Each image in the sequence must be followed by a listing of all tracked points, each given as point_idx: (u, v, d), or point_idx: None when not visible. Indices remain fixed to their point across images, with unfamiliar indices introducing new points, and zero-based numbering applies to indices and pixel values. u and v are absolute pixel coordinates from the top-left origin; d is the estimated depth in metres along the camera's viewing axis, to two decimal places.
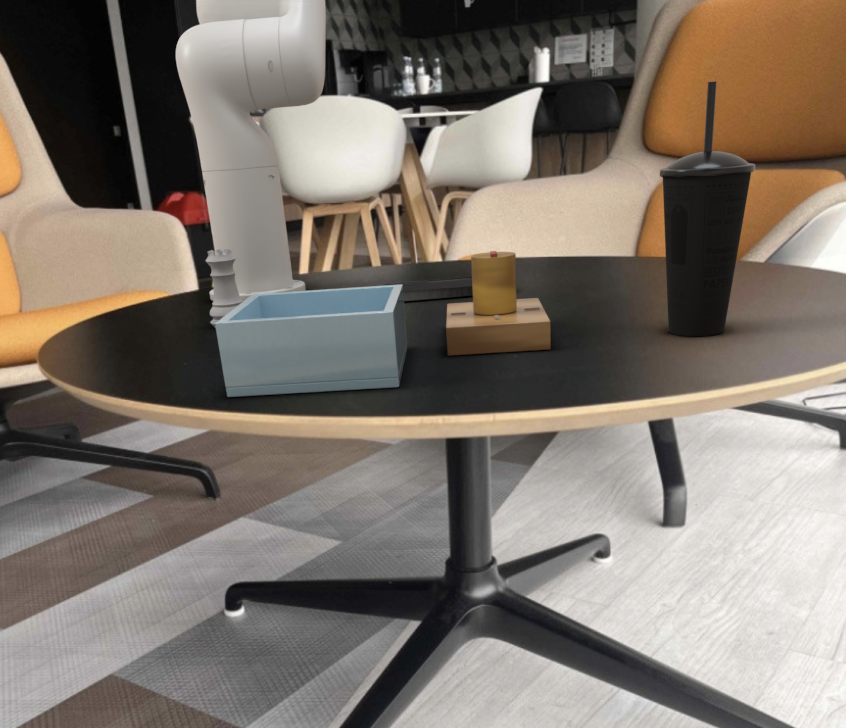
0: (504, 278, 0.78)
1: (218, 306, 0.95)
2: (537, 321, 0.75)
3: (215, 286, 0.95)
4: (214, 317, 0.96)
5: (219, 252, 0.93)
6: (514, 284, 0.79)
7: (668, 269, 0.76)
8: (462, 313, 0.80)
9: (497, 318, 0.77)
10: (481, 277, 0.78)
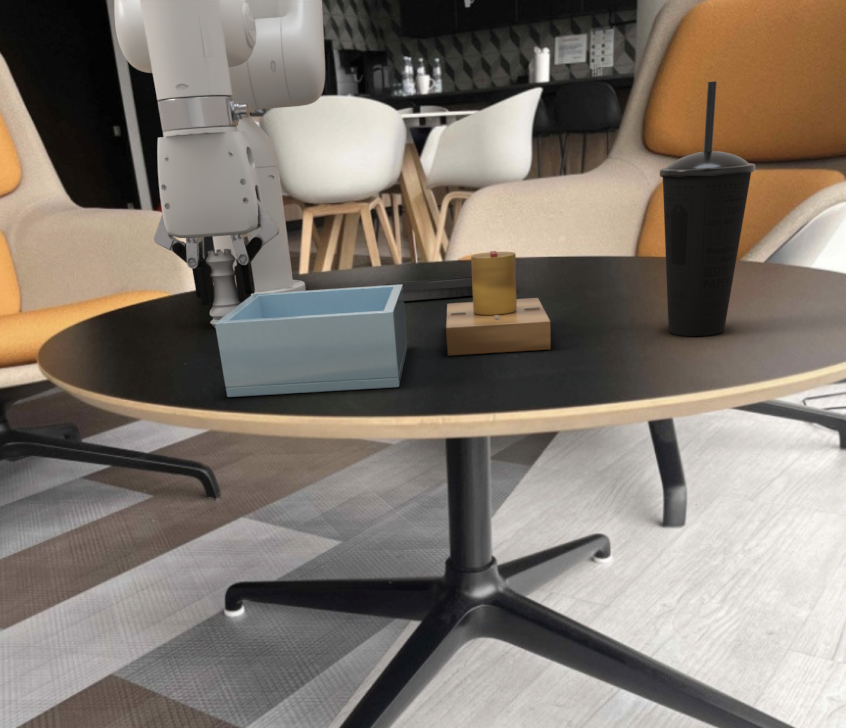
0: (504, 278, 0.78)
1: (218, 306, 0.95)
2: (537, 321, 0.75)
3: (215, 286, 0.95)
4: (214, 317, 0.96)
5: (219, 252, 0.93)
6: (514, 284, 0.79)
7: (668, 269, 0.76)
8: (462, 313, 0.80)
9: (497, 318, 0.77)
10: (481, 277, 0.78)
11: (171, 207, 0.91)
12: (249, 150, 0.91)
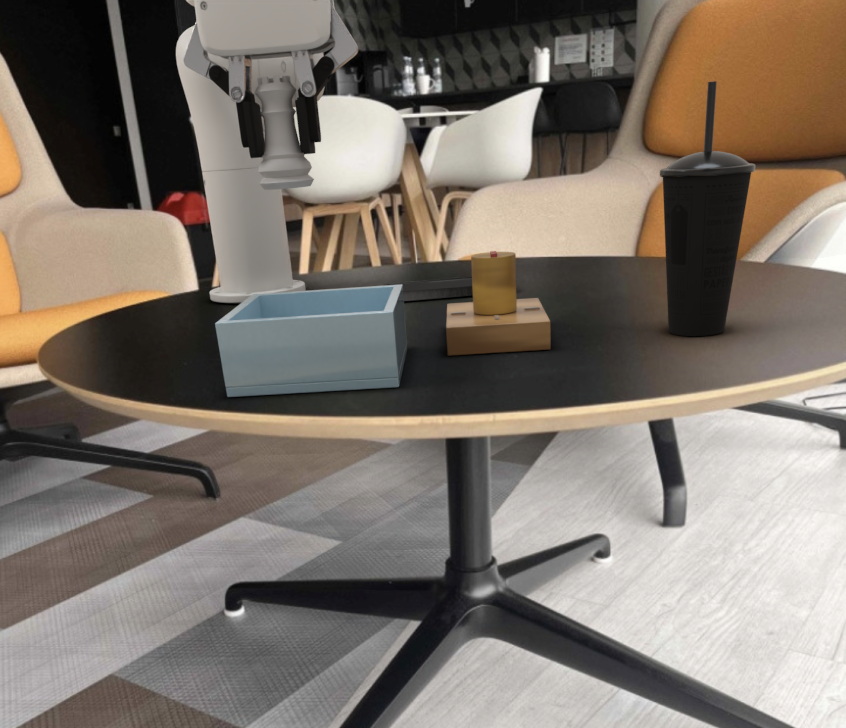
0: (504, 278, 0.78)
1: (272, 157, 0.69)
2: (537, 321, 0.75)
3: (267, 129, 0.69)
4: (265, 174, 0.70)
5: (274, 77, 0.67)
6: (514, 284, 0.79)
7: (668, 269, 0.76)
8: (462, 313, 0.80)
9: (497, 318, 0.77)
10: (481, 277, 0.78)
11: (209, 7, 0.64)
12: None
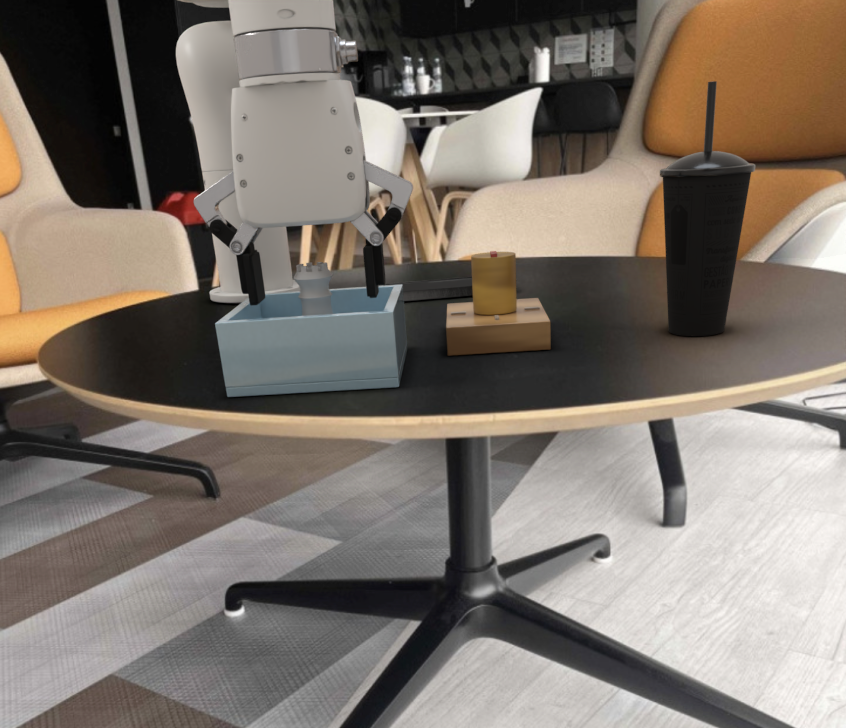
0: (504, 278, 0.78)
1: None
2: (537, 321, 0.75)
3: (305, 312, 0.71)
4: None
5: (313, 267, 0.70)
6: (514, 284, 0.79)
7: (668, 269, 0.76)
8: (462, 313, 0.80)
9: (497, 318, 0.77)
10: (481, 277, 0.78)
11: (249, 185, 0.66)
12: (355, 107, 0.67)
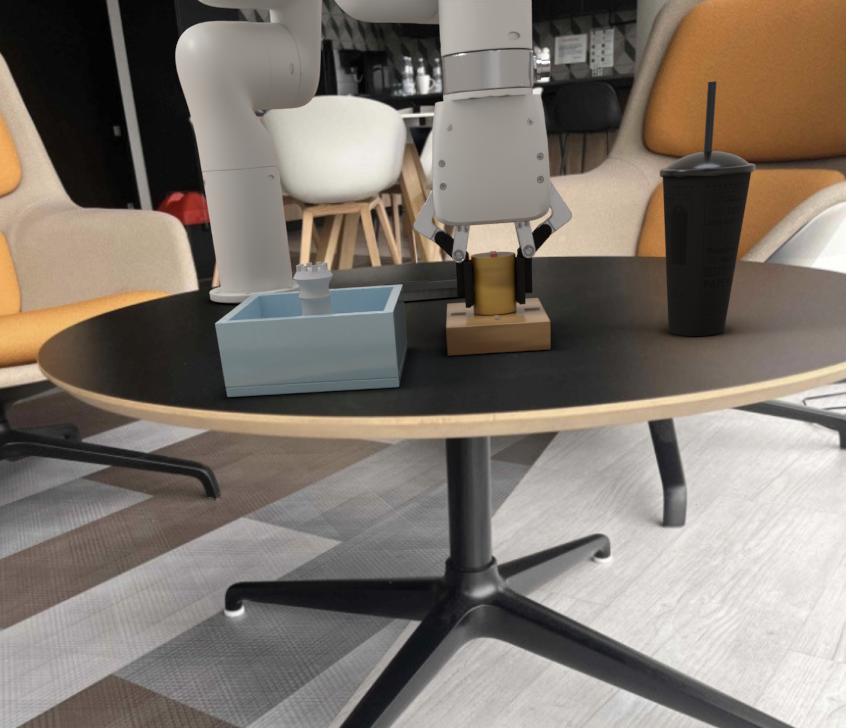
0: (504, 278, 0.78)
1: None
2: (537, 321, 0.75)
3: (305, 312, 0.71)
4: None
5: (313, 267, 0.70)
6: (514, 284, 0.79)
7: (668, 269, 0.76)
8: (462, 313, 0.80)
9: (497, 318, 0.77)
10: (481, 277, 0.78)
11: (448, 188, 0.74)
12: None
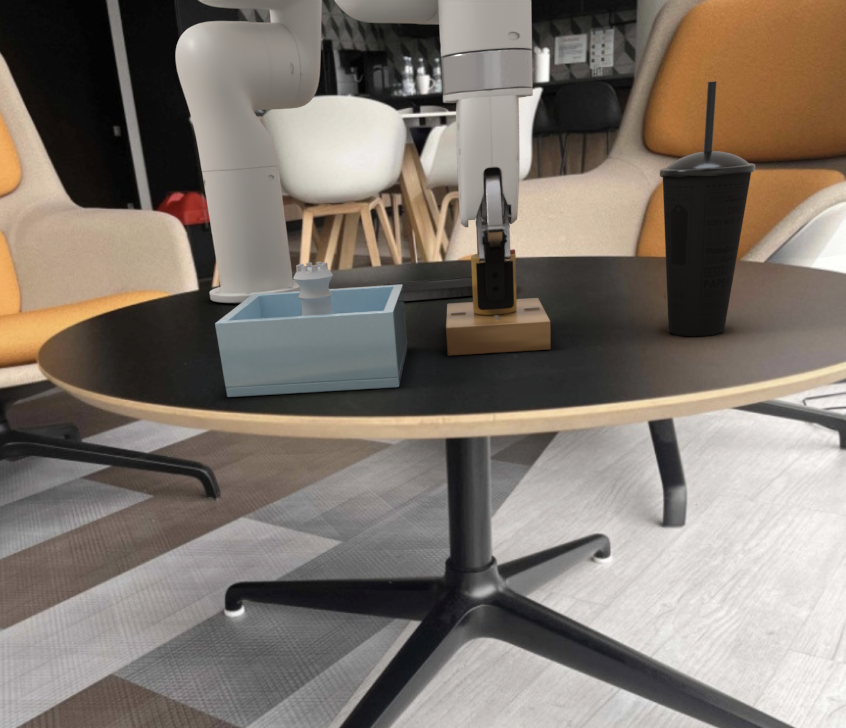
0: None
1: None
2: (537, 321, 0.75)
3: (305, 312, 0.71)
4: None
5: (313, 267, 0.70)
6: None
7: (668, 269, 0.76)
8: (462, 313, 0.80)
9: (497, 318, 0.77)
10: None
11: (518, 184, 0.72)
12: None
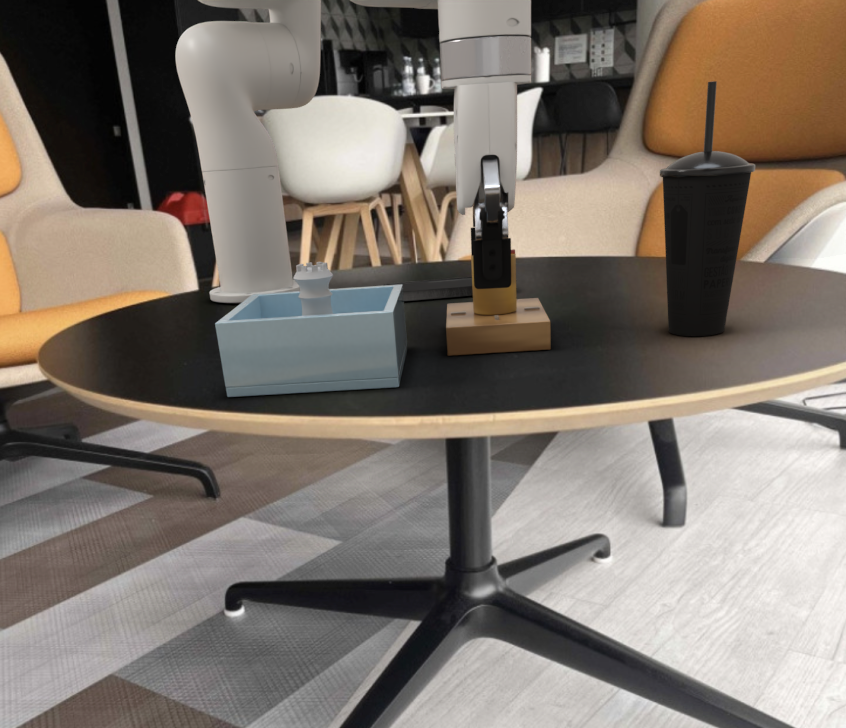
0: None
1: None
2: (537, 321, 0.75)
3: (305, 312, 0.71)
4: None
5: (313, 267, 0.70)
6: None
7: (668, 269, 0.76)
8: (462, 313, 0.80)
9: (497, 318, 0.77)
10: (512, 275, 0.78)
11: (515, 172, 0.72)
12: None
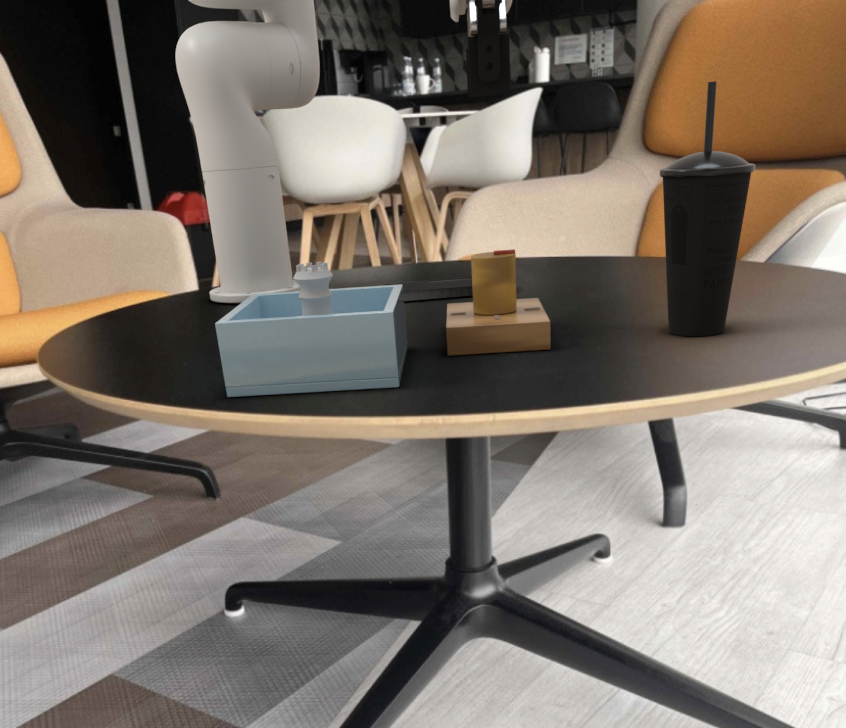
0: None
1: None
2: (537, 321, 0.75)
3: (305, 312, 0.71)
4: None
5: (313, 267, 0.70)
6: None
7: (668, 269, 0.76)
8: (462, 313, 0.80)
9: (497, 318, 0.77)
10: (512, 275, 0.78)
11: None
12: None
